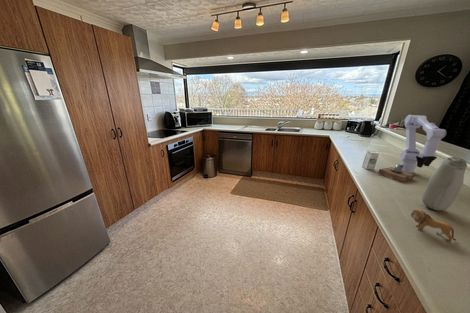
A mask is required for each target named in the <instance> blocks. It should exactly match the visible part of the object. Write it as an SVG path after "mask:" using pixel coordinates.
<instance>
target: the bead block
mask: <svg viewBox="0 0 470 313" xmlns="http://www.w3.org/2000/svg"><path fill="white" fill-rule="evenodd" d="M394 168H395V167H393V166H391V167H390V166H389V167H384V168H379V170H378V173H377V175H378V174H379V175H381V176H383V177H386V178H389V179H391V178H392V179H391V180H394V181H396V180H397V181H396V182H399V183H400V182H406V181H410V180H413V179H414V177H415V173H408V172H405V171H401V173H400V174H397V173H394V172H393V171H394Z"/></svg>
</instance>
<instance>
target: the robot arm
mask: <svg viewBox="0 0 470 313" xmlns="http://www.w3.org/2000/svg"><path fill="white" fill-rule="evenodd" d="M427 118H428V117H427V116H426V115H417V114H416V115H415V114H408V115H407V116H406V117H405V118H404V127H405V128H406V129H405V148H404V149H403V150H401V153H400V160H401V162H400V163H399V164H400V165H403V168H402V171H405V172H408V173H411V174H416V172H415V170H416V168H422V167H423V166H424V167H429V166H430V165H432V163H433V162H434V161H435V160H437V158H438V157H437V153H436V152H437V149H438V147H439V145H440V142H441V140H442V139H444V138H445V137H446V136H447V130H446V129H444V128H439V127H438V126H437V125H436V123H434V122H429V121H428V119H427ZM421 126H422V130H423V131H424V133H426V137H425V139H426V142H425V144H424V146H423V149H422V151H421V152H420V150H419V149H418V148H417V146H416V144H417V142H416V140H417V138H416V135H417V134H416V131H417V130H416V129H419V128H420V127H421Z"/></svg>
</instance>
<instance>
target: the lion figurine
mask: <svg viewBox="0 0 470 313" xmlns="http://www.w3.org/2000/svg"><path fill="white" fill-rule="evenodd" d="M410 217H411V218H412V219H413V220H414V221H415V222H416V223H417V224H415V227H416V228H417V230H418V231H419V232H422V231H424V229H425V228H426V227H429V228H431V229H432V228H433V229H440V231H436V232H435V234H436V235H440V236H441V235H445V236H446V237H447V238H446V239H445V241H446V242H448V243H451V242H452V240H453V241H457V239H456V238H454V236H455V229H454V228H453V226H451V224H449V223H447V222H444V221H440V220H437V219H434V218H432V217H431V215H430V214H429V213H428V214H427V213H426V212H425V211H424V210H421V209H419V208H415V209H412V211H411V213H410Z"/></svg>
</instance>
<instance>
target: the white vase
mask: <svg viewBox="0 0 470 313" xmlns="http://www.w3.org/2000/svg"><path fill="white" fill-rule="evenodd" d="M467 167H468V164H467V161H466V160H465V159H463V158H460V157H457V156H450V157H446V158H445V159H443V160H442V162H441V163H440V165H439V166H438V168H437V169H436V170H435V171H434V172H433V174H432V175H431V176H430V178H429V180H428V182H427V183H426V187H425V189H424V192H423V193H422V197H421V200H422V203H423V205H425V207H427V208H428V209H431V210H433V211H445V210H447V209H449V208H450V207H451V206H452V205H453V203H454V201H455V199H456V198H457V196H458V194H459V193H460V191H461V188H462V187H463V185H464V184H463V183H464V178H465V172H466V169H467Z"/></svg>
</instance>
